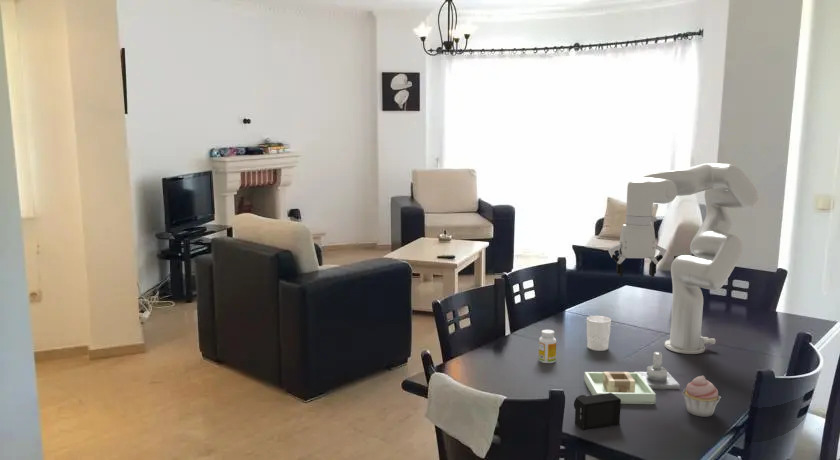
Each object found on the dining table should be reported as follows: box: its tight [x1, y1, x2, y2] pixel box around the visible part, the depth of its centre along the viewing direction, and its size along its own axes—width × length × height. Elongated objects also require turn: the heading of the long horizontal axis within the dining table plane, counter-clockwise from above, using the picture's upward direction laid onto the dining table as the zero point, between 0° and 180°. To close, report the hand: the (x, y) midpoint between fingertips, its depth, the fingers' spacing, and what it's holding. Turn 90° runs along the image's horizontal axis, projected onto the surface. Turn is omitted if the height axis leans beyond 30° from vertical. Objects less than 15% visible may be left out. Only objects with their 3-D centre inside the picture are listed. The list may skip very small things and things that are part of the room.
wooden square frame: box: [602, 371, 635, 393], centre depth 185 cm, size 9×7×4 cm
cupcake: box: [682, 375, 722, 418], centre depth 172 cm, size 9×9×10 cm
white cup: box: [586, 315, 612, 352], centre depth 222 cm, size 8×8×10 cm
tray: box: [583, 371, 657, 405], centre depth 186 cm, size 16×16×3 cm
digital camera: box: [573, 393, 622, 431], centre depth 166 cm, size 10×5×7 cm, turn 107°
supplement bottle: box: [538, 329, 557, 364], centre depth 210 cm, size 5×5×10 cm
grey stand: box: [637, 351, 681, 390], centre depth 192 cm, size 10×10×9 cm
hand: (635, 275), depth 203 cm, fingers open, 9 cm apart
